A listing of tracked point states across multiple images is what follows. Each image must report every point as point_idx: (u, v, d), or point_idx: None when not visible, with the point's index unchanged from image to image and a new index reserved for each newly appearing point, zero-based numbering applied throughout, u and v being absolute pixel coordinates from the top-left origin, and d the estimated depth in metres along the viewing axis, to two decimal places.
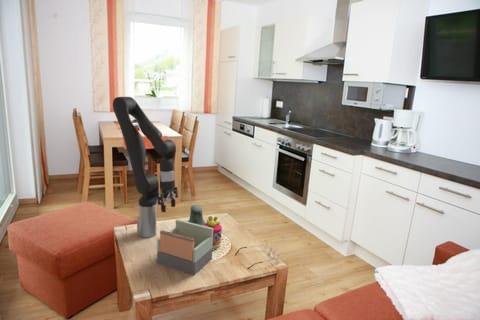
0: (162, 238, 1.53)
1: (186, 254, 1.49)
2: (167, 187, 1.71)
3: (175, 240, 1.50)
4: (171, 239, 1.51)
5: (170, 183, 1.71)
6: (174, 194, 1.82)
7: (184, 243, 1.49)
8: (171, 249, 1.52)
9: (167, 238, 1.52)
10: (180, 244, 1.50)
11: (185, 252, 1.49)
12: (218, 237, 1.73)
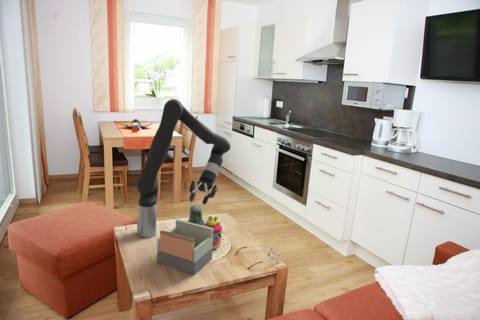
0: (162, 238, 1.53)
1: (186, 254, 1.49)
2: None
3: (175, 240, 1.50)
4: (171, 239, 1.51)
5: None
6: (190, 188, 1.68)
7: (184, 243, 1.49)
8: (171, 249, 1.52)
9: (167, 238, 1.52)
10: (180, 244, 1.50)
11: (185, 252, 1.49)
12: (218, 237, 1.73)
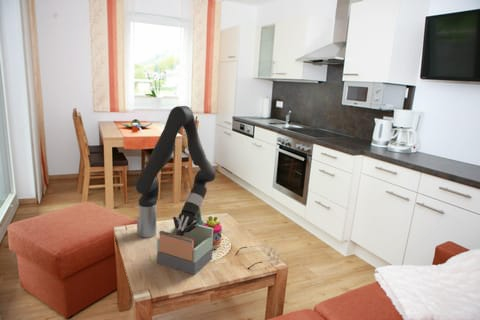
0: (161, 238, 1.53)
1: (186, 254, 1.49)
2: (197, 214, 1.58)
3: (174, 240, 1.50)
4: (170, 239, 1.51)
5: None
6: None
7: (183, 243, 1.48)
8: (171, 249, 1.52)
9: (166, 238, 1.52)
10: (179, 244, 1.49)
11: (185, 252, 1.49)
12: (218, 237, 1.73)
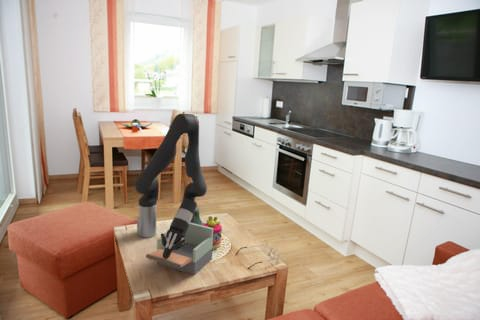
0: None
1: None
2: None
3: None
4: None
5: None
6: None
7: None
8: None
9: None
10: None
11: None
12: (218, 237, 1.73)
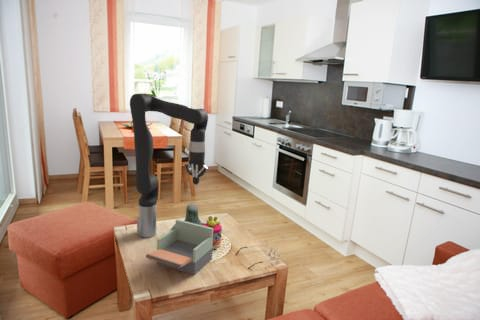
0: None
1: None
2: (204, 157, 1.67)
3: None
4: None
5: None
6: (189, 172, 1.69)
7: None
8: None
9: None
10: None
11: None
12: (218, 237, 1.73)
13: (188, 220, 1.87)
